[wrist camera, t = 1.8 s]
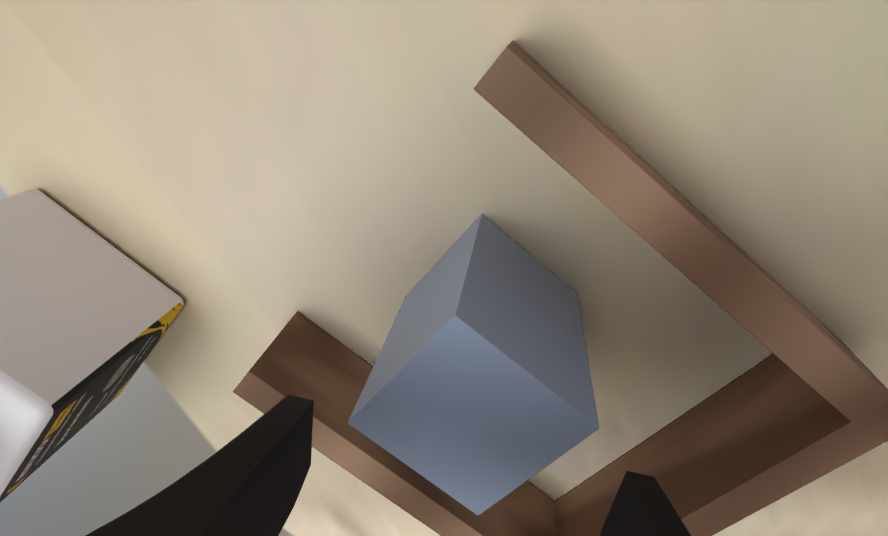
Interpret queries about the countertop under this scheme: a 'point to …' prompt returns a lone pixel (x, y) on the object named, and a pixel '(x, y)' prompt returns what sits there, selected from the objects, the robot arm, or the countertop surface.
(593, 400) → the blue block
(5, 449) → the medicine bottle
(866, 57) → the countertop surface
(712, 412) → the walnut bay
